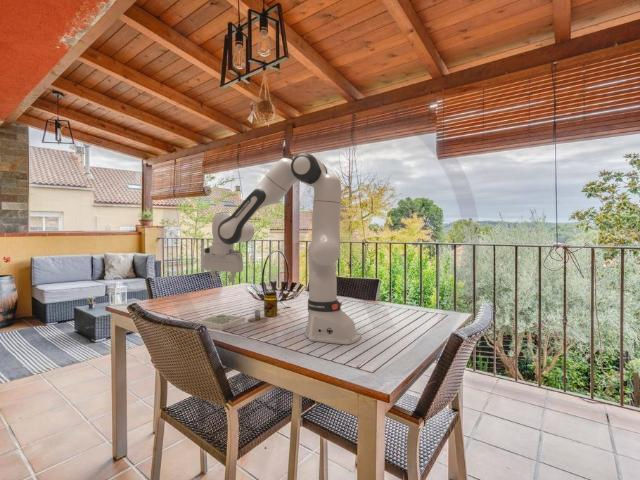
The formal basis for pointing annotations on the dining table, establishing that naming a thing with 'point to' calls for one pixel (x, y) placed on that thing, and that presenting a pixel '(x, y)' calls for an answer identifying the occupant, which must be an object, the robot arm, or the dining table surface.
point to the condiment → (270, 304)
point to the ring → (221, 319)
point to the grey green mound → (257, 318)
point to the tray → (221, 326)
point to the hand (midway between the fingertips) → (223, 281)
